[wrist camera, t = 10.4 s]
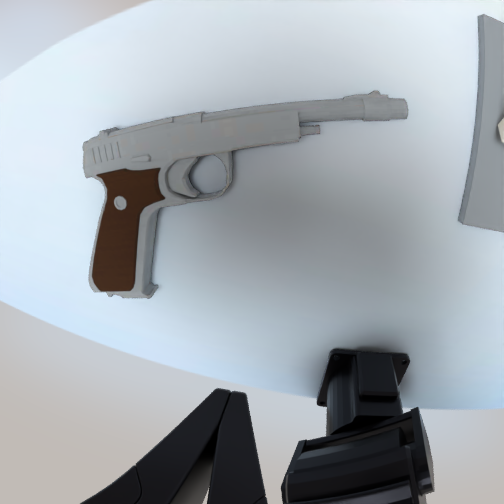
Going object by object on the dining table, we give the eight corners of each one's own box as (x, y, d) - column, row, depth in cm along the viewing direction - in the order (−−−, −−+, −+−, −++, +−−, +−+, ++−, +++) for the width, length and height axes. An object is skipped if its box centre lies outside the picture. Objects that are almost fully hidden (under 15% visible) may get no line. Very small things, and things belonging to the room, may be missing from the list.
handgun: (406, 290, 19) (410, 90, 14) (90, 302, 23) (43, 149, 18) (397, 271, 21) (396, 91, 16) (105, 285, 25) (64, 143, 20)
